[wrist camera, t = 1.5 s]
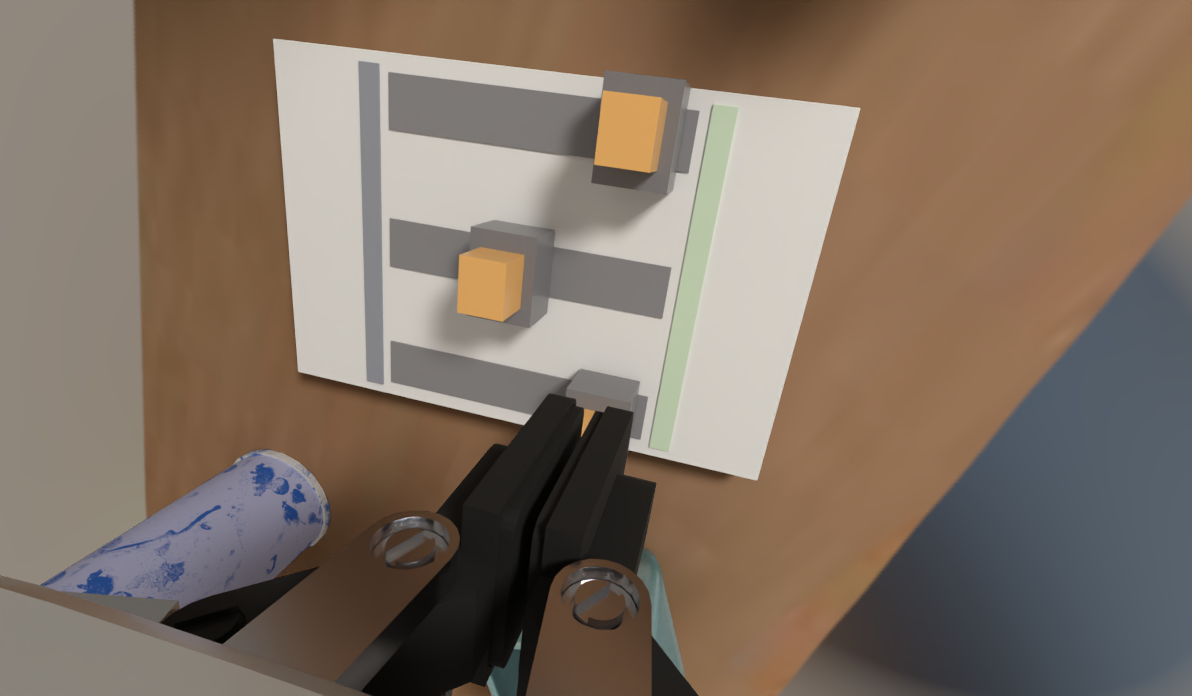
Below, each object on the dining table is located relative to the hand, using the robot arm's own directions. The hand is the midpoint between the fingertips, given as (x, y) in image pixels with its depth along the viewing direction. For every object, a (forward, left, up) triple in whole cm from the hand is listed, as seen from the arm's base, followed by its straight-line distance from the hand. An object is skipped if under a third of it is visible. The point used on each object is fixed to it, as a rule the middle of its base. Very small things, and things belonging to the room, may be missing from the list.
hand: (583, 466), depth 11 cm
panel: (0, -7, -17) cm, 18 cm away
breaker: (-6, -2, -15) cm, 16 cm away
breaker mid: (0, -7, -15) cm, 16 cm away
